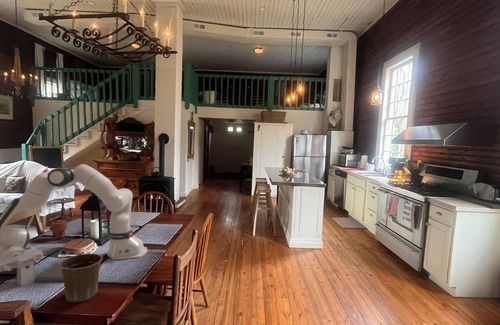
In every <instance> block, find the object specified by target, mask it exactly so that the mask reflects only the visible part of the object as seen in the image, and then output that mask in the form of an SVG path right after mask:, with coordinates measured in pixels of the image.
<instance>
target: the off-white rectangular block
mask: <svg viewBox="0 0 500 325" xmlns="http://www.w3.org/2000/svg"><path fill="white" fill-rule="evenodd" d="M16 264H17V267H16V282H17V283H18V284H19V286H21V287H24V286H26V285H30V284H33V283H35V264H34V258H33V257H31V256H30V255H26V256H23V257H19V258H16Z"/></svg>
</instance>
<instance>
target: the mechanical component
mask: <svg viewBox="0 0 500 325" xmlns="http://www.w3.org/2000/svg"><path fill="white" fill-rule="evenodd" d="M67 229H68V225H67V221H66V220H62V219H58V220H54V221H52V222H51V223H50V227H49V231H50V232H52V238H53V240H54V241H57V240H60V239H61V240H62V239H65V235H66V230H67Z"/></svg>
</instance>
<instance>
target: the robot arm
mask: <svg viewBox="0 0 500 325" xmlns="http://www.w3.org/2000/svg"><path fill="white" fill-rule="evenodd" d="M76 183H79V184H80V185H82V186H84V187H85V188H86V189H87V190H88V191H90V192H92V193H93V194H95V196H97V197H98V198H99V200H101V201H102V203H103V204H104V206H105V209H107V210H108V211H109V212H111V213H110V218H109V232H108V233H109V234H108V238H109V244H108V245H109V247H108V251H107V257H109V258H111V259H112V260H125V259H138V258H139V259H140V258H143V257H144V256H145V255H146V254H147V253H148V247H146V246H144V241H142V240H141V239H140V238H138V237H137V236H135V234H134V232H135V230H132V229H131V212H132V205H133V197H134V194H133V192H132V191H131V190H130V189H129V188H125V187H124V188H118V189H117V187H116V186H115V185H114V184H113V183H112V181H111V179H109V178H107V177H106V176H105V175H104V174H102V173H101V172H100V171H98V170H96V169H95V168H93V167H91V166H89V165H88V164H85V163H84V164H83V163H82V164H78V165H77V166H76V167H75V168H73V169H72V168H68V167H67V168H66V167H57V168H53V169H52V170H50V171H49V172H48V174H47V173H39V174H36V175H35V177H34V178H33V179H32V180H31V182H30V184H29V185H28V187H27V189H26V190H25V192H24V193H23V194H22V195H21V196H19V197H16V198H14V199H12V200H11V201H10V203H9V204H8V205H7V206H6V207H5V209H4V210H3V212H2V213H1V214H0V272H3V271H4V272H5V271H8V272H10V271H13V269H14V268H17V264H16V258H19V257H23V256H26V255H30V256H31V257H33V258H34V265H35V264H37V262H38V261H41V260H43V257H44V254H43V252H42V251H40V250H39V249H35V247H27V246H28V244H29V242H30V240H31V239H30V238H31V235H30V233H29V231H28V230H27V229H25V228H18V227H17V228H16V227H7V224H8V223H10V220H11V219H12V217H13V216H14V215H15V214H17V213H19V212H21V211H26V210H34V209H38V208H40V207H43V206H44V205H45V204H46V203H47V202H48V200H49V198H50V196H51V194H52V192H53V190H55V188H68V187H72V186H74V185H76Z"/></svg>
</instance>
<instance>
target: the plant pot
mask: <svg viewBox="0 0 500 325" xmlns="http://www.w3.org/2000/svg"><path fill="white" fill-rule="evenodd" d="M102 261H103V256H102V255H101V254H97V253H90V252H89V253H81V254H76V255H73V256H69V257H67V258H65V259H63V260H62V261H61V262H60V263H59V264H60V268H61V271H62V275H63V279H64V281H63V287H64V294H65V300H66V302H69V303H75V302H79V303H81V302H85V301H88V300H90V299H92V298H93V297H95V296H96V295H97V293H98V290H99V289H98V286H99V280H100V279H99V278H100V268H101V267H102V266H101V264H102Z"/></svg>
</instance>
